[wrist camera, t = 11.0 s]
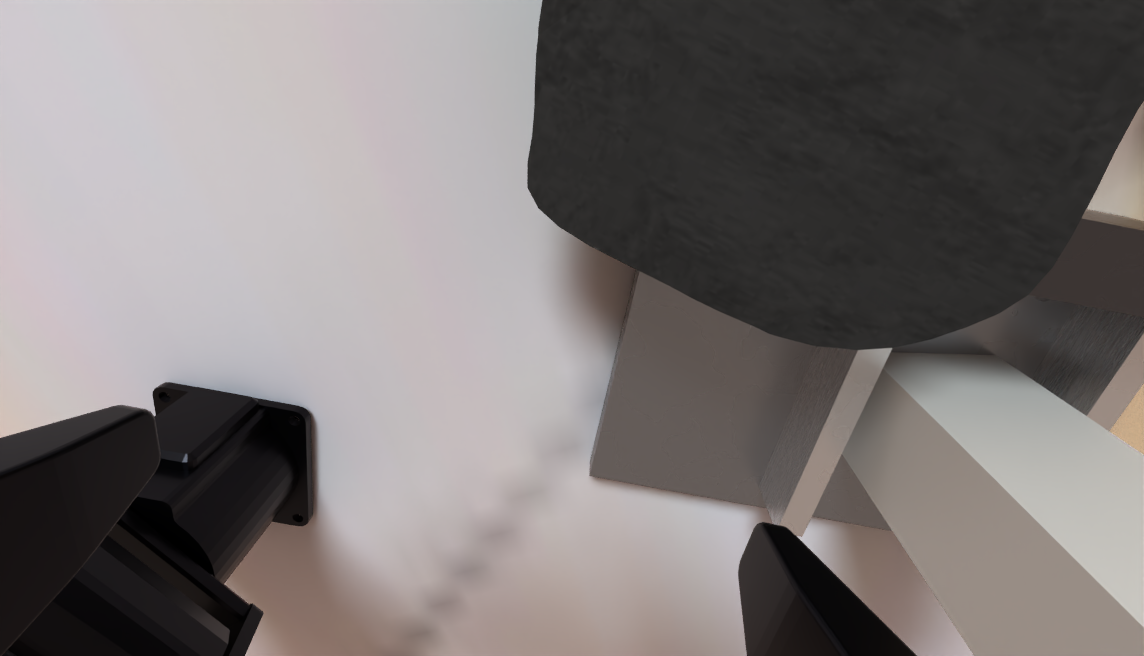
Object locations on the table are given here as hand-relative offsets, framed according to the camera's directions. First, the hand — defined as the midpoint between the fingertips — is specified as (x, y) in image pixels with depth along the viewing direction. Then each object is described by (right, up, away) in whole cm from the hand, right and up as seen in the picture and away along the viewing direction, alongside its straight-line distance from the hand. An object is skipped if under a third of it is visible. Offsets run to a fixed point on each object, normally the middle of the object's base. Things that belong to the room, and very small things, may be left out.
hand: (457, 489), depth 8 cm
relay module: (+15, -1, +13) cm, 19 cm away
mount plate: (+12, +1, +13) cm, 17 cm away
